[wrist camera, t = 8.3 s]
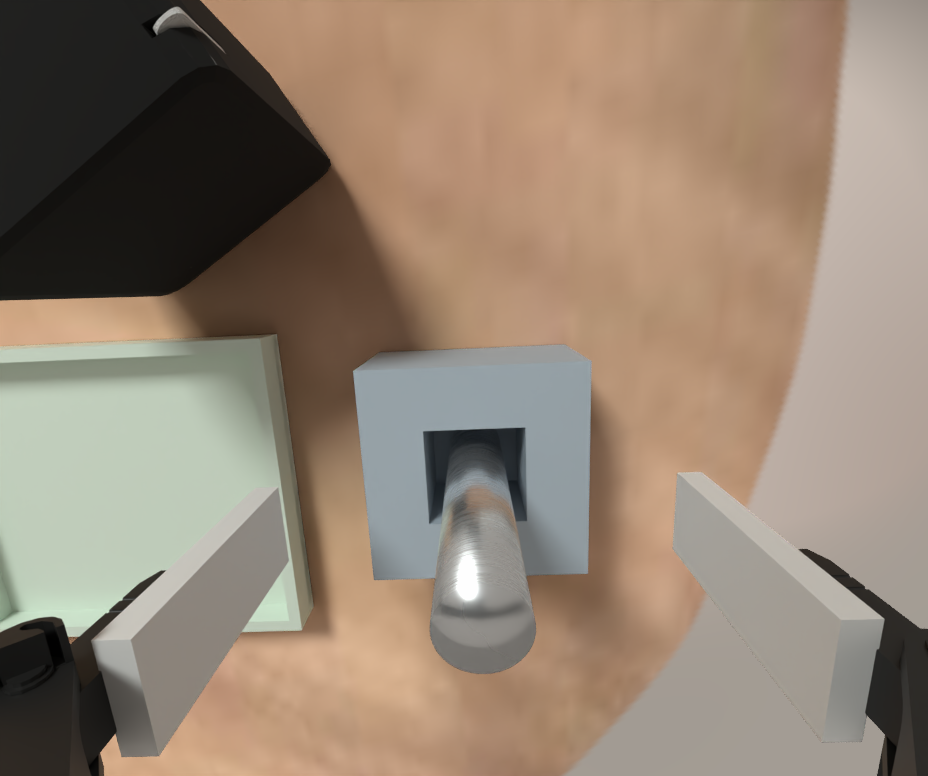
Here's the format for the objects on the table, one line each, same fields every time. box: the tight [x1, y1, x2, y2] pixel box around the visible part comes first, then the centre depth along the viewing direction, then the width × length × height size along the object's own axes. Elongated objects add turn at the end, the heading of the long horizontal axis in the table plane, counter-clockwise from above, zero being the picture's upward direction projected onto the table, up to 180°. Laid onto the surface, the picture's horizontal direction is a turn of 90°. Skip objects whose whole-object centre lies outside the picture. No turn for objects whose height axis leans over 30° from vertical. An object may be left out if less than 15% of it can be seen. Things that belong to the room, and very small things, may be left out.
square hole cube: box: [353, 344, 591, 580], centre depth 20 cm, size 9×9×5 cm
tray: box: [0, 334, 314, 637], centre depth 23 cm, size 15×17×2 cm
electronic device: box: [0, 0, 331, 300], centre depth 16 cm, size 4×10×10 cm, turn 125°
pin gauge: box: [430, 429, 536, 674], centre depth 16 cm, size 2×2×12 cm
